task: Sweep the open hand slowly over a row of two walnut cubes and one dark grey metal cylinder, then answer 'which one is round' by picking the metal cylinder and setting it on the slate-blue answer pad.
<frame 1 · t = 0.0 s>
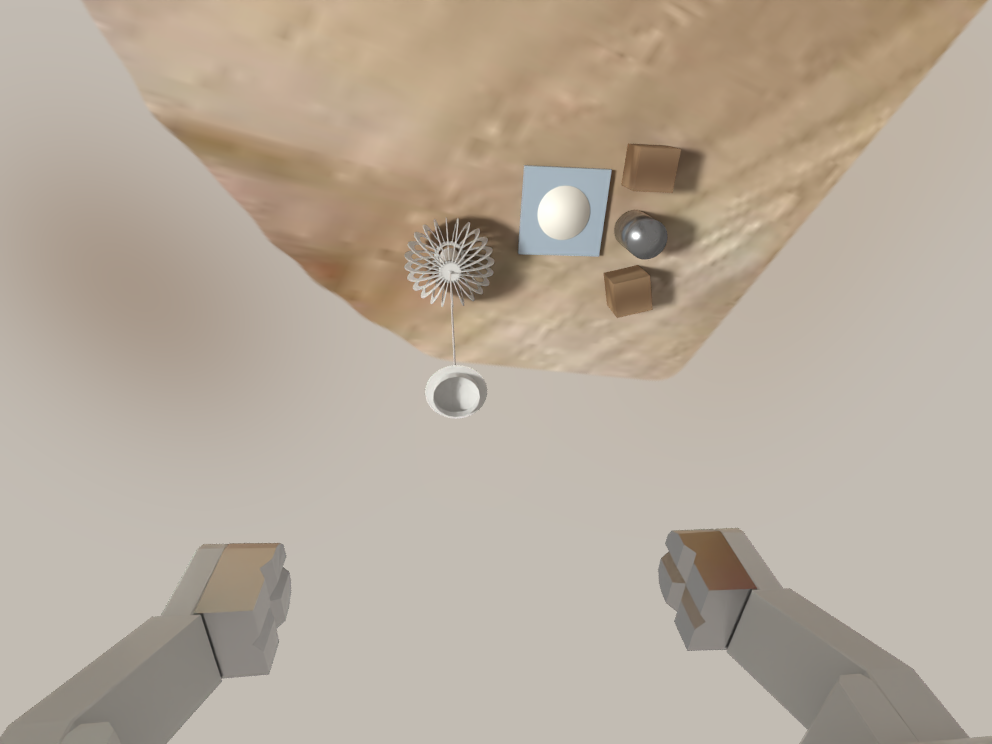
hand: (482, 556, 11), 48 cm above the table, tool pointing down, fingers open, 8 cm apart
pendant light: (449, 254, 56), on the table
walnut cube b: (622, 285, 60), on the table
metal cylinder: (632, 228, 57), on the table
answer pad: (562, 212, 55), on the table
walnut cube a: (643, 165, 54), on the table
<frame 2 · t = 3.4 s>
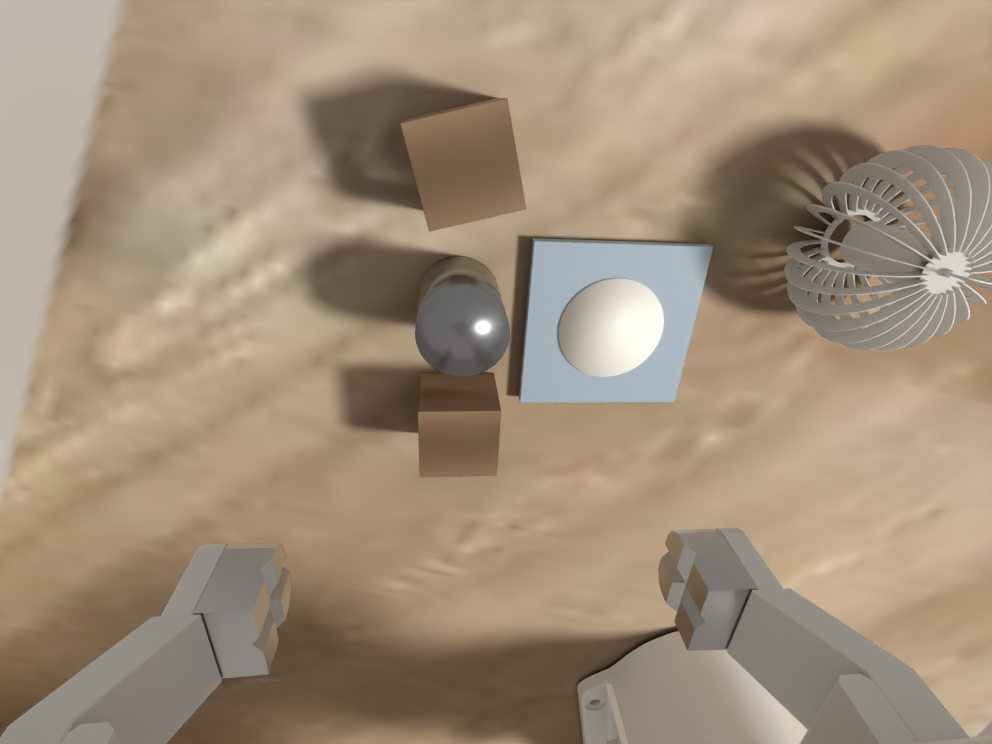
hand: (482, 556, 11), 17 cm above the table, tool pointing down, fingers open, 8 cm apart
pendant light: (845, 237, 27), on the table
walnut cube b: (462, 157, 23), on the table
metal cylinder: (459, 294, 26), on the table
answer pad: (607, 324, 28), on the table
walnut cube a: (456, 403, 29), on the table
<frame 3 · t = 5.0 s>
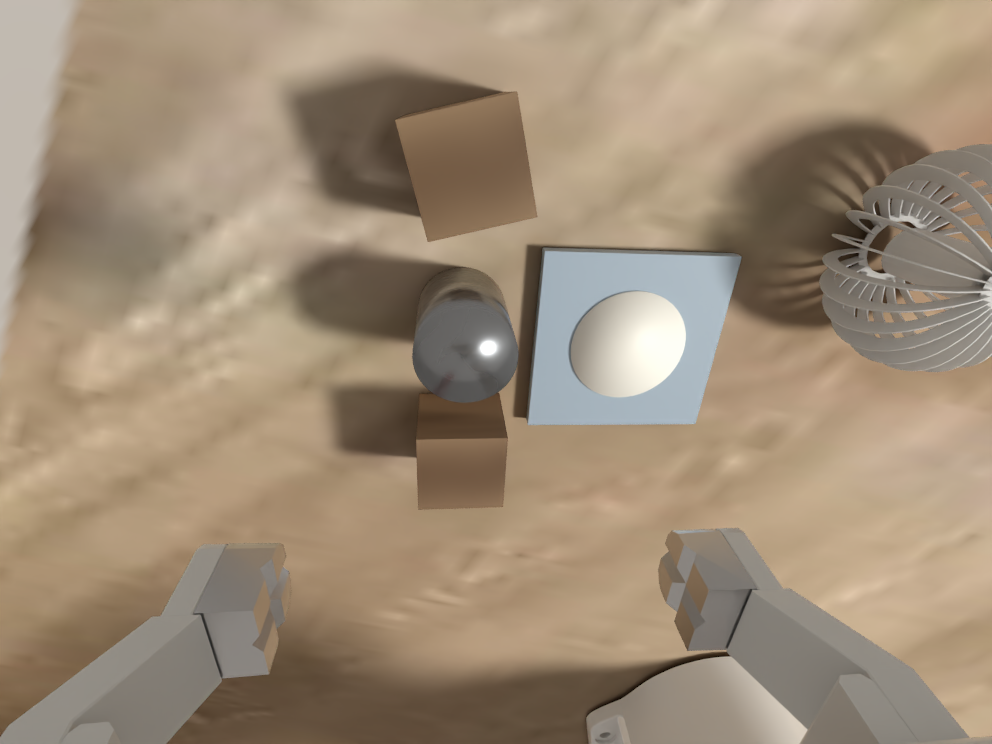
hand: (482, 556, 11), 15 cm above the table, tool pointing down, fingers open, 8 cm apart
pendant light: (885, 245, 25), on the table
walnut cube b: (465, 158, 21), on the table
metal cylinder: (461, 309, 24), on the table
answer pad: (624, 341, 25), on the table
walnut cube a: (459, 425, 27), on the table
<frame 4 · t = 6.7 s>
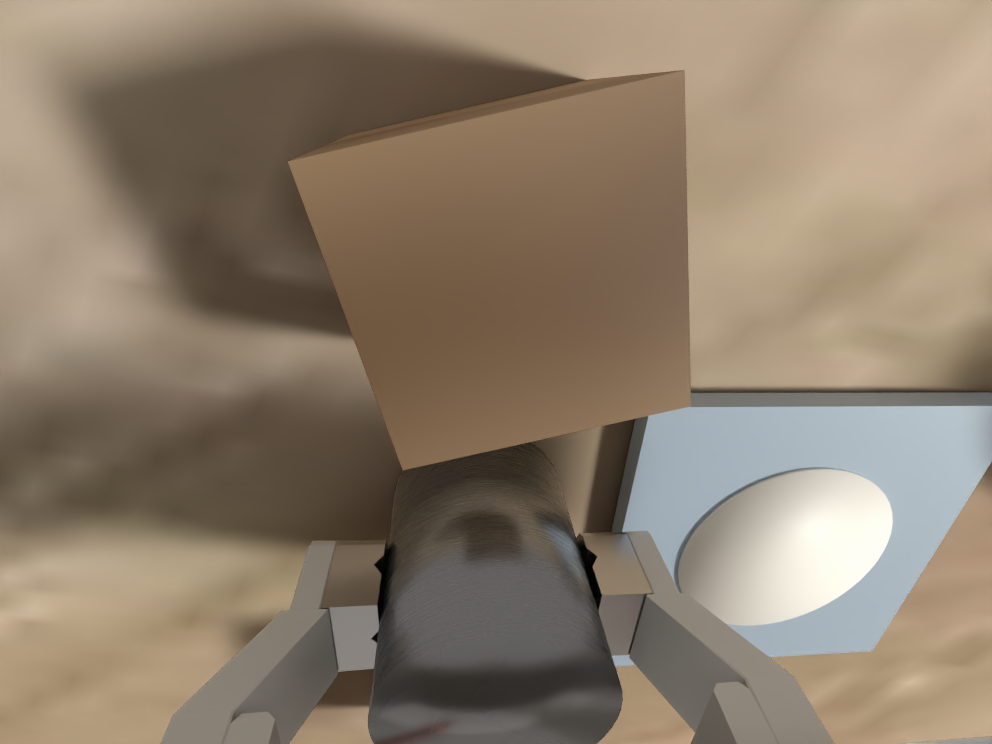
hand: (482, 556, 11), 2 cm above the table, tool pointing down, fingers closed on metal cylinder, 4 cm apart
walnut cube b: (491, 226, 10), on the table
metal cylinder: (478, 499, 13), on the table, touching gripper
answer pad: (769, 535, 14), on the table
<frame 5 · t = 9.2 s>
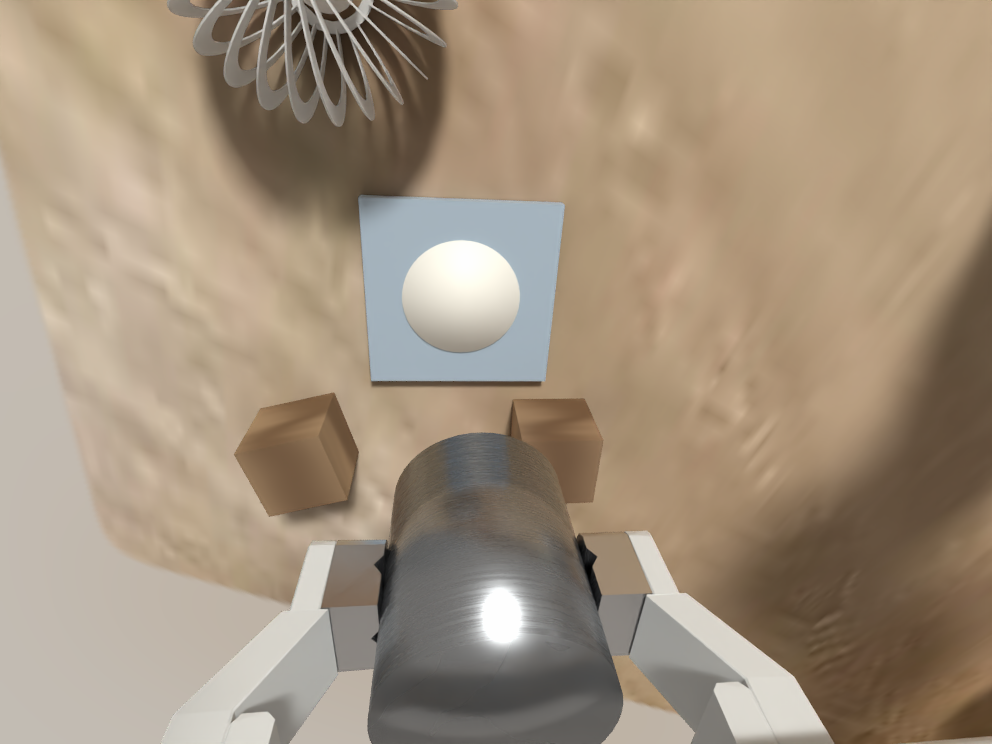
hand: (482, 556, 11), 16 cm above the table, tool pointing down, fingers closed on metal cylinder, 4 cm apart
walnut cube b: (311, 430, 28), on the table
metal cylinder: (478, 501, 12), point 15 cm above the table, touching gripper
answer pad: (461, 294, 25), on the table
walnut cube a: (545, 428, 30), on the table
when the fingers open (3 cm above the table, at t = 11.8 s): metal cylinder stays where it is, resting on answer pad.
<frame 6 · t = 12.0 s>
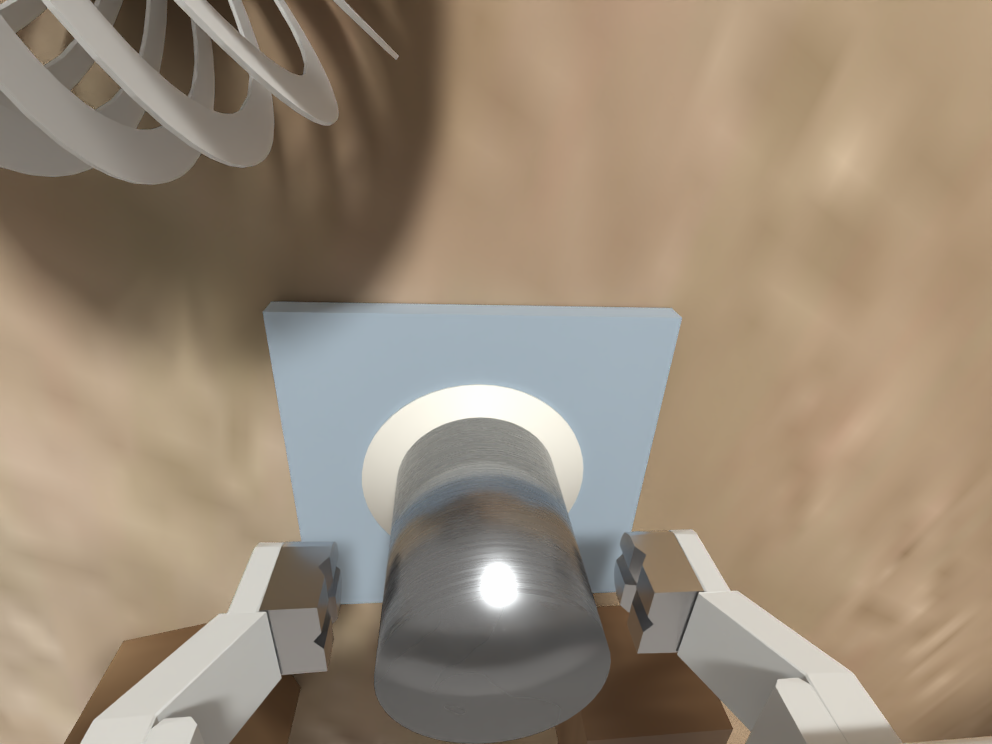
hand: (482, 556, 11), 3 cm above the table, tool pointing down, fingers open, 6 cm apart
walnut cube b: (218, 663, 17), on the table
metal cylinder: (476, 483, 13), point 1 cm above the table, touching answer pad
answer pad: (473, 464, 14), on the table
walnut cube a: (608, 641, 18), on the table
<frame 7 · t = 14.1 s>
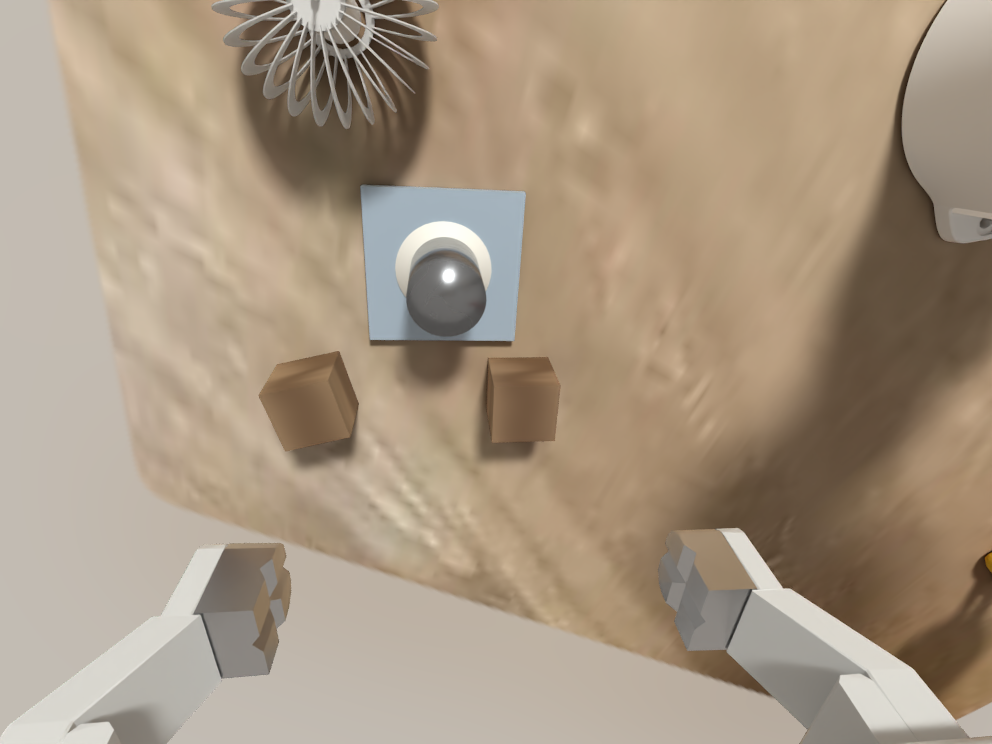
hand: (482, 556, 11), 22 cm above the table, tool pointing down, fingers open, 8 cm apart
pendant light: (341, 19, 25), on the table
walnut cube b: (319, 384, 34), on the table
metal cylinder: (444, 271, 30), point 1 cm above the table, touching answer pad
answer pad: (443, 267, 31), on the table
walnut cube a: (516, 383, 35), on the table
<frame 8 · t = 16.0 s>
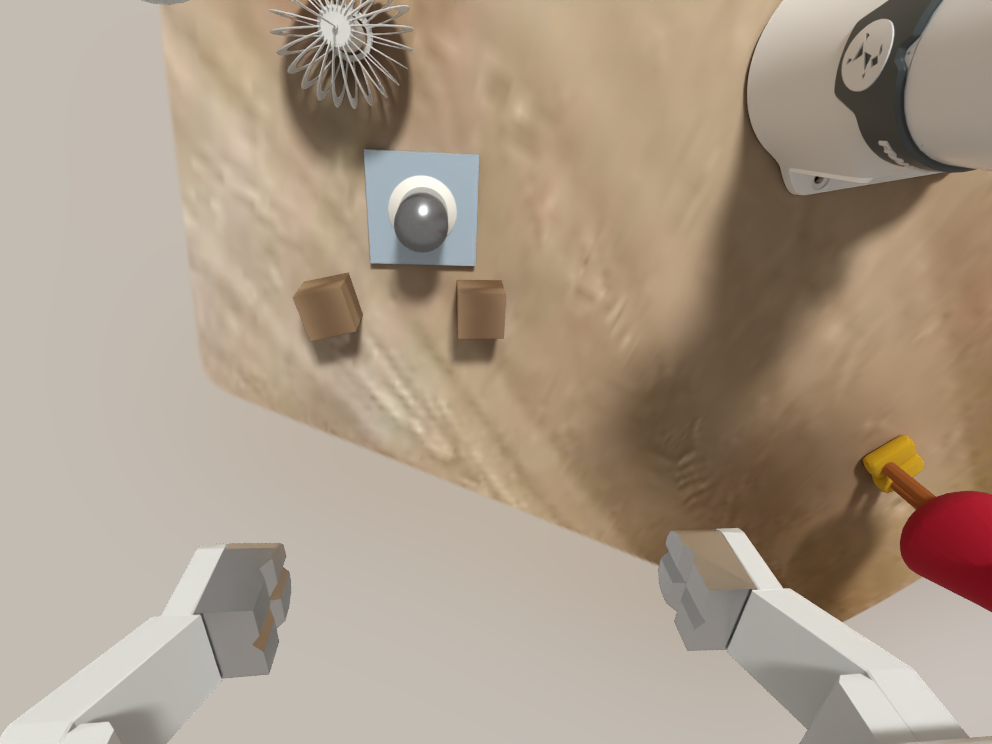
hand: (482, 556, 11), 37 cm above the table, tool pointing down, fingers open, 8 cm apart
pendant light: (351, 35, 37), on the table
walnut cube b: (334, 298, 46), on the table
metal cylinder: (423, 212, 43), point 1 cm above the table, touching answer pad
answer pad: (423, 209, 43), on the table
toy: (873, 465, 62), on the table
walnut cube a: (478, 300, 48), on the table
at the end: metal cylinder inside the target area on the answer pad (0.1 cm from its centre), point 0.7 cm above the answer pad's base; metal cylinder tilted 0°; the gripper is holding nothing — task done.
